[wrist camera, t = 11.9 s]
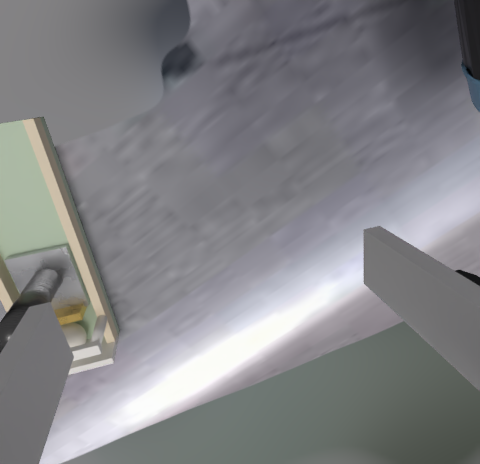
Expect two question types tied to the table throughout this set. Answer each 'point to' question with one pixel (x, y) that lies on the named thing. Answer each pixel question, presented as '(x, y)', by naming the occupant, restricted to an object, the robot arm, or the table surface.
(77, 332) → the ball
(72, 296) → the rod
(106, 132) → the table surface
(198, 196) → the table surface
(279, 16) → the table surface
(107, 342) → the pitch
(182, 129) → the table surface
